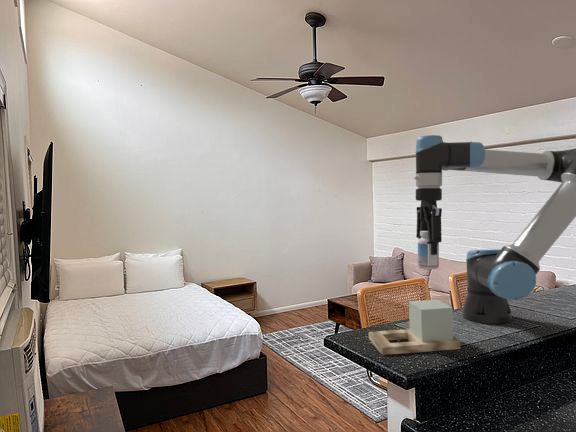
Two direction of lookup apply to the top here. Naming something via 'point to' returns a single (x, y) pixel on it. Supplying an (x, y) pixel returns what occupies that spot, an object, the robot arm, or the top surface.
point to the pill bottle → (424, 251)
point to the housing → (431, 320)
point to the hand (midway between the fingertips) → (428, 263)
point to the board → (412, 346)
